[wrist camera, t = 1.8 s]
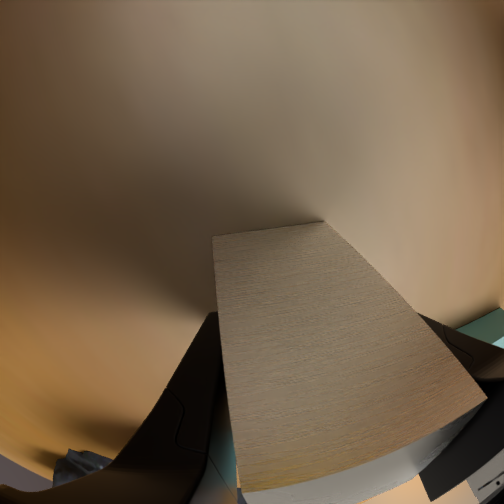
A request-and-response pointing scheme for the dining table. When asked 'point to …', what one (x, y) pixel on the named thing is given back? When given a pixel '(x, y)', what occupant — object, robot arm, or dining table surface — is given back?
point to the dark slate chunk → (90, 468)
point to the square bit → (328, 370)
